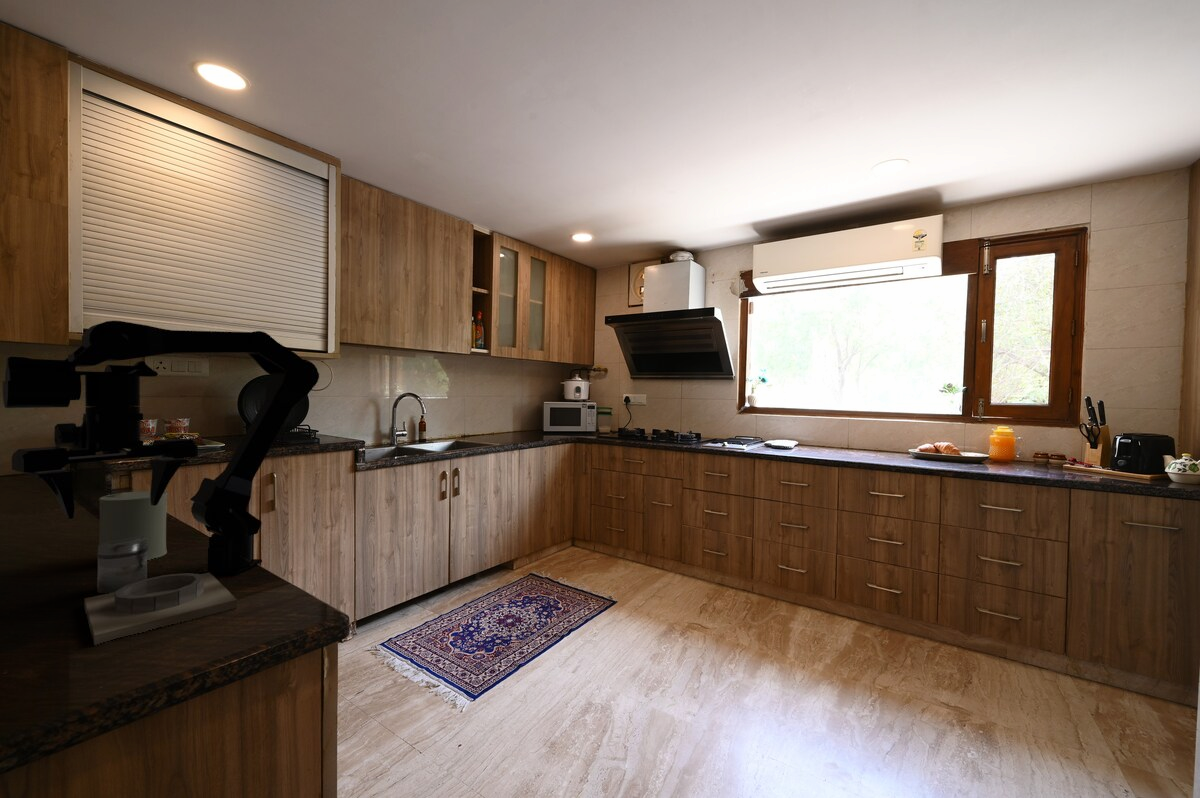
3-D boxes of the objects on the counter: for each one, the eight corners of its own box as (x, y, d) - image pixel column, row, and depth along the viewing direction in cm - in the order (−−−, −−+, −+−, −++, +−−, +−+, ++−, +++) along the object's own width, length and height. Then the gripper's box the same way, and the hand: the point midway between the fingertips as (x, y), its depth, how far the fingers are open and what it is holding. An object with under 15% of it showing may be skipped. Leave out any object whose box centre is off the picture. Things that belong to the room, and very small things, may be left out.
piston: (122, 580, 78) (123, 537, 78) (157, 580, 78) (157, 537, 78) (85, 594, 73) (86, 547, 73) (122, 594, 73) (123, 548, 73)
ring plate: (84, 607, 68) (84, 584, 68) (209, 579, 79) (209, 560, 79) (94, 645, 58) (94, 618, 58) (236, 608, 69) (237, 585, 69)
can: (118, 552, 92) (119, 489, 92) (177, 548, 95) (178, 487, 95) (83, 568, 83) (84, 498, 84) (149, 563, 86) (150, 496, 86)
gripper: (167, 404, 84) (168, 494, 84) (-2, 407, 67) (0, 519, 68) (199, 405, 79) (199, 501, 79) (24, 408, 62) (26, 530, 62)
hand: (114, 511), depth 72 cm, fingers open, 9 cm apart
